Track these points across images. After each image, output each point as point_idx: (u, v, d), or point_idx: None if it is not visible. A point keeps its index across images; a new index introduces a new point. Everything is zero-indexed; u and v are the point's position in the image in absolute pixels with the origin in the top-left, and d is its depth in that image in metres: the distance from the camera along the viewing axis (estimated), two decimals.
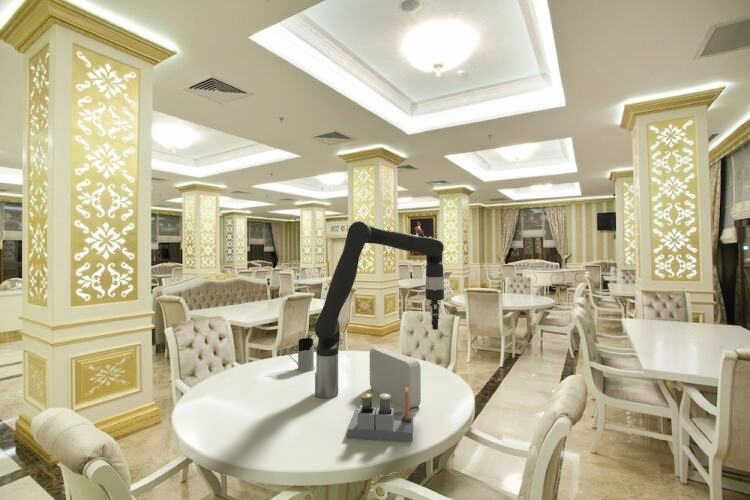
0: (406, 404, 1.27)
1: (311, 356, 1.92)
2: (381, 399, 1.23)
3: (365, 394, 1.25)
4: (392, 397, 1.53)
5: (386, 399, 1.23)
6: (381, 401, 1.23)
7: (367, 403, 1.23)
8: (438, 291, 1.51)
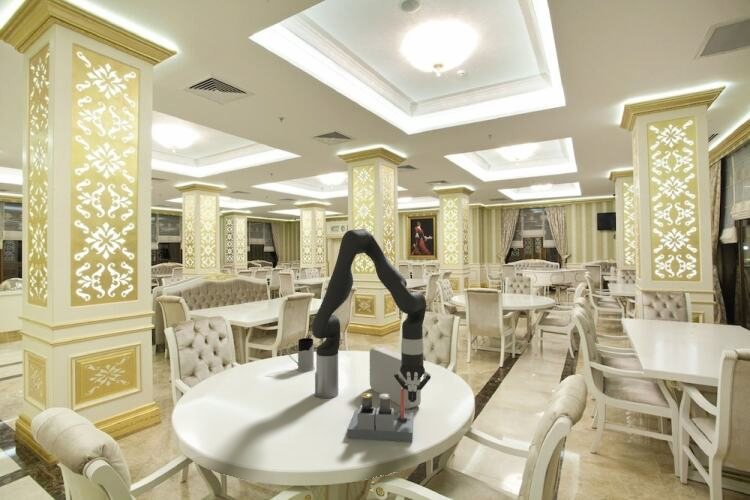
0: (402, 404, 1.27)
1: (311, 356, 1.92)
2: (381, 399, 1.23)
3: (365, 394, 1.25)
4: (392, 397, 1.53)
5: (386, 399, 1.23)
6: (381, 401, 1.23)
7: (367, 403, 1.23)
8: None
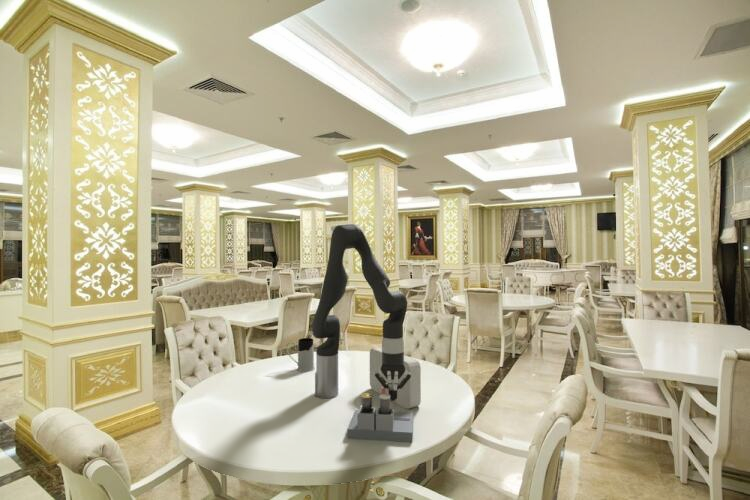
0: None
1: (311, 356, 1.92)
2: (381, 399, 1.23)
3: (365, 394, 1.25)
4: None
5: (386, 399, 1.23)
6: (381, 401, 1.23)
7: (367, 403, 1.23)
8: None
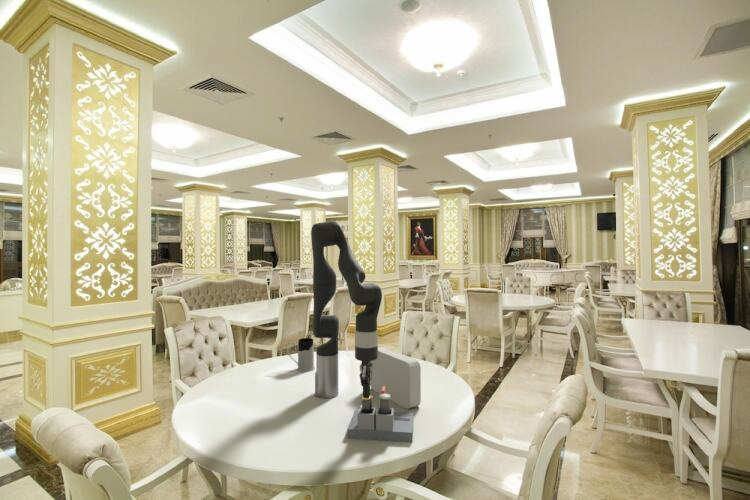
0: None
1: (311, 356, 1.92)
2: (381, 399, 1.23)
3: None
4: (392, 397, 1.53)
5: (386, 399, 1.23)
6: (381, 401, 1.23)
7: (367, 405, 1.23)
8: None
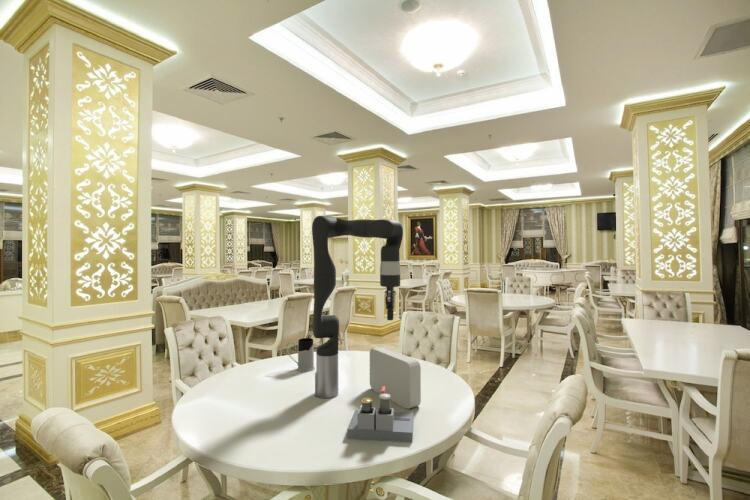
0: None
1: (311, 356, 1.92)
2: (381, 399, 1.23)
3: (365, 399, 1.25)
4: (392, 397, 1.53)
5: (386, 399, 1.23)
6: (381, 401, 1.23)
7: (367, 408, 1.23)
8: None
